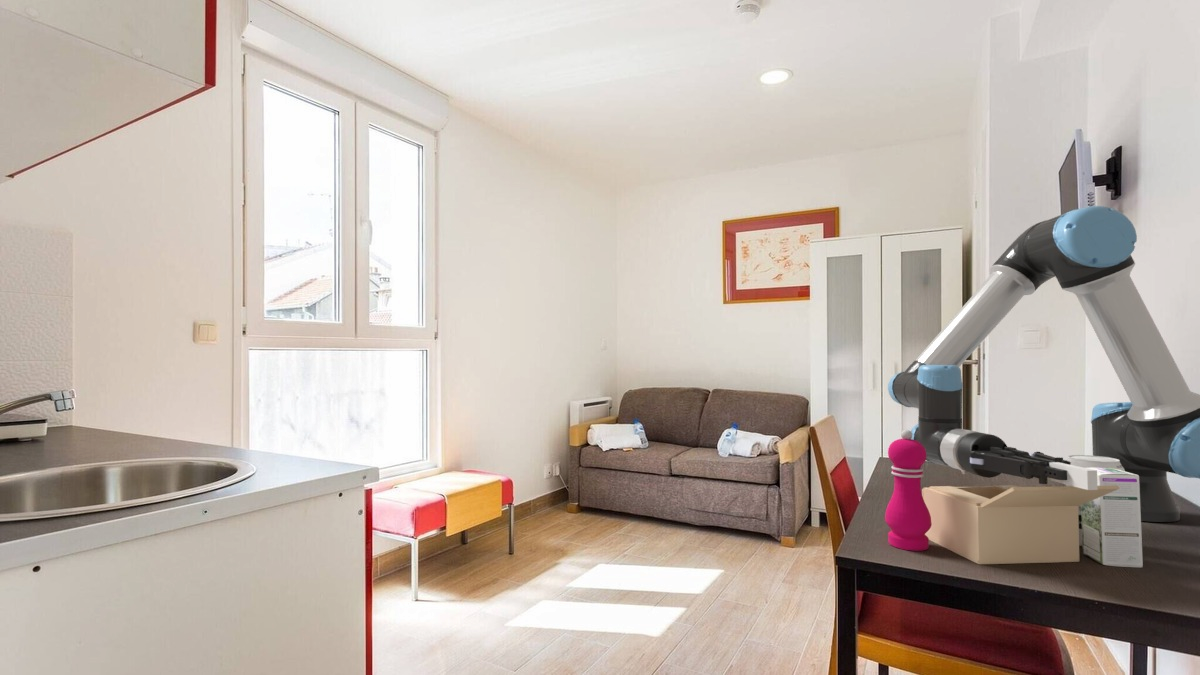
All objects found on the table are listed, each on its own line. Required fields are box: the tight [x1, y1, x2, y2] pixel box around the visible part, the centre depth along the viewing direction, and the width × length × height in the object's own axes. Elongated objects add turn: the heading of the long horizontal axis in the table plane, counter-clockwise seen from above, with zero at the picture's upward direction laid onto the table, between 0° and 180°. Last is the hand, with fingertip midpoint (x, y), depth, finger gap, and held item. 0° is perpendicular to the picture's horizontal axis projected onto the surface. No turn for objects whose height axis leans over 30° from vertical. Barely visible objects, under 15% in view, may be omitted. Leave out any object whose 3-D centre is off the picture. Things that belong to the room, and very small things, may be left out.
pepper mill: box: [884, 429, 932, 552], centre depth 105 cm, size 7×7×20 cm
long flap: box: [980, 485, 1119, 508], centre depth 92 cm, size 17×1×8 cm
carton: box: [921, 484, 1080, 565], centre depth 103 cm, size 17×15×9 cm
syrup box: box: [1081, 467, 1144, 569], centre depth 97 cm, size 6×6×14 cm
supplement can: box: [1064, 454, 1125, 547], centre depth 105 cm, size 8×8×15 cm
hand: (1092, 480), depth 84 cm, fingers closed
